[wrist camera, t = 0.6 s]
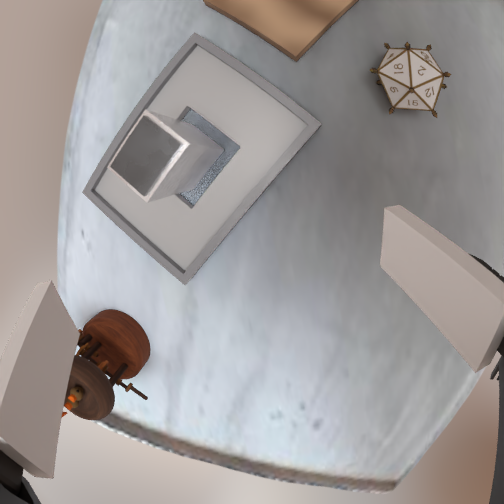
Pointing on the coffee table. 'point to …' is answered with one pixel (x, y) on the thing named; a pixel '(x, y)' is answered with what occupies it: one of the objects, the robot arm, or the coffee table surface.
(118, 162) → the block
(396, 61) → the game die
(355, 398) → the coffee table surface
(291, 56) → the board
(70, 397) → the music box
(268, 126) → the grey flat frame
